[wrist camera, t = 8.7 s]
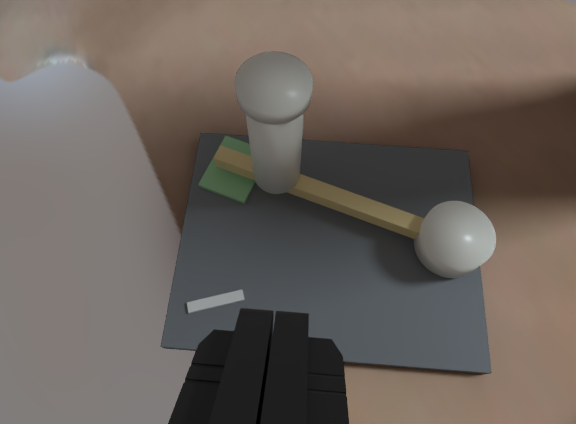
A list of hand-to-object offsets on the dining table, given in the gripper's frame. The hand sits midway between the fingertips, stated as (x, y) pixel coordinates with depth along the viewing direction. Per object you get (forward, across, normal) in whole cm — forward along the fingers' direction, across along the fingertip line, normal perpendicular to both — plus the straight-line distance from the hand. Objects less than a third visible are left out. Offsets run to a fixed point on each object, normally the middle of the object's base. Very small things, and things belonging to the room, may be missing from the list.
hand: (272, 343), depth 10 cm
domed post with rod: (+18, -3, +3) cm, 18 cm away
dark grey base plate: (+17, -2, +5) cm, 18 cm away
